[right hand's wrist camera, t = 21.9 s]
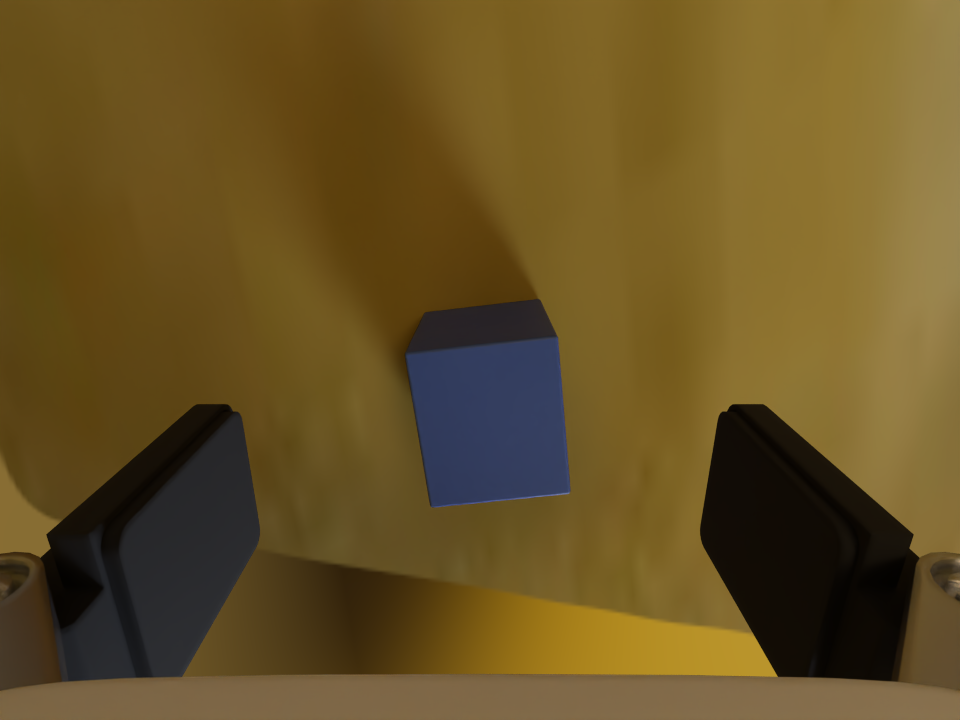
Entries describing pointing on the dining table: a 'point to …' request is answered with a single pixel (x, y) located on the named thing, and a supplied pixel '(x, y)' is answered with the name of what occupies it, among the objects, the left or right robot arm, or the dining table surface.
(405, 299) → the dining table surface
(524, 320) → the brick
